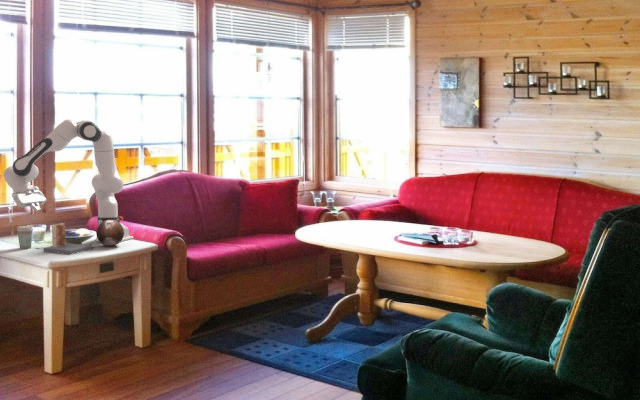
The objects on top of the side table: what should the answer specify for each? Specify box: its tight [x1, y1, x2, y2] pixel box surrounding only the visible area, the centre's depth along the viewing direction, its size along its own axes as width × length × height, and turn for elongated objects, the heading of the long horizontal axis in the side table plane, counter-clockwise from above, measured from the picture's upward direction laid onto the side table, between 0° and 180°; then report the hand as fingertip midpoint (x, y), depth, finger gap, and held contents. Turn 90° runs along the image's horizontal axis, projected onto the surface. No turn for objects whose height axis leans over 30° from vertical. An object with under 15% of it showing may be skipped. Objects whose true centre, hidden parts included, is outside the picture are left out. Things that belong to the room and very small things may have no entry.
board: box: [42, 242, 93, 255], centre depth 445 cm, size 18×18×2 cm
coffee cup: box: [16, 225, 34, 250], centre depth 449 cm, size 8×8×12 cm
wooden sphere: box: [95, 220, 124, 247], centre depth 459 cm, size 15×15×15 cm
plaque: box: [51, 222, 67, 247], centre depth 446 cm, size 8×3×12 cm, turn 158°
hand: (38, 210), depth 450 cm, fingers closed
